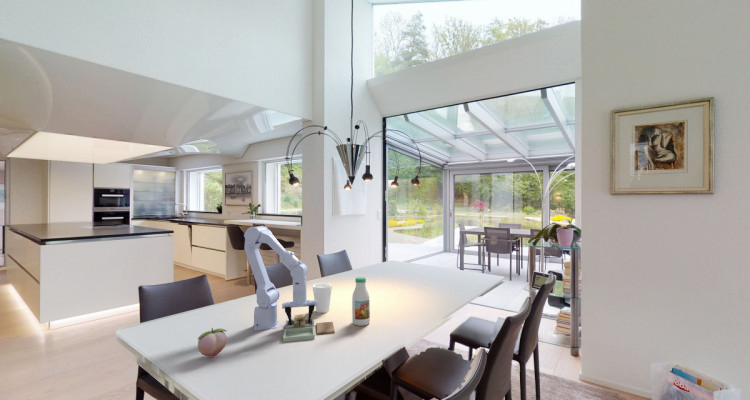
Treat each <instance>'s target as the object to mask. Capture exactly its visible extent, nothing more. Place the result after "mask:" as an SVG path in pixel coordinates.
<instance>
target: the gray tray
mask: <svg viewBox="0 0 750 400" xmlns="http://www.w3.org/2000/svg"><path fill="white" fill-rule="evenodd" d="M303 327H314V328H315V318H312V317H311V319H310V324H308V318H305V326H297V327H294V319H292V325H290V323H289V320H286V321H285V325H284V330H285V329H292V328H303Z"/></svg>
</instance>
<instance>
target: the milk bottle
mask: <svg viewBox="0 0 750 400" xmlns="http://www.w3.org/2000/svg"><path fill="white" fill-rule="evenodd" d="M366 281H367V279H366V277H365V276H364V277H363V276H359V277H358V276H357V277H356V278H355V281H354V282H355V287H354V290H353V293H352V299H351V303H352V304H351V308H352V310H351V311H352V312H351V316H352V318H351V319H352V321H351V322H352V324H353V325H355V326H357V327H359V326H360V327H362V326H363V327H364V326H368V325H369V324H370V321H371V319H370V318H371V315H370V314H371V312H370V306H371V305H370V294H369V291H368V289H367V286H366Z"/></svg>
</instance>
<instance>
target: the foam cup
mask: <svg viewBox="0 0 750 400" xmlns="http://www.w3.org/2000/svg"><path fill="white" fill-rule="evenodd" d="M332 285H333V284H332V283H328V282H320V283H319V282H318V283H315V284H313V285H312V292H313V301H315V300H317V306H314V309H315V313H319V314H326V313H328V312H329V311H330V305H331V298H332V297H331V296H332V290H333V289H332Z"/></svg>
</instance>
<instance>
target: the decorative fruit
mask: <svg viewBox="0 0 750 400" xmlns="http://www.w3.org/2000/svg"><path fill="white" fill-rule="evenodd" d="M225 332H227V330H226V328H225V329H224V328H216V329H213V327H212V328H211V330H208V331H205V332H203V333H201V334H200V335H199V336H198V337H197V340H198V341H197V349H198V351H199V353H200V354H201V355H203V356H205V357H208V358H213V357H215V356H217V355H218V354H220V353H221V352H222V351H223V350H224V349H225V348H226V345H227V343H228V337H227V334H226V333H225Z"/></svg>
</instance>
